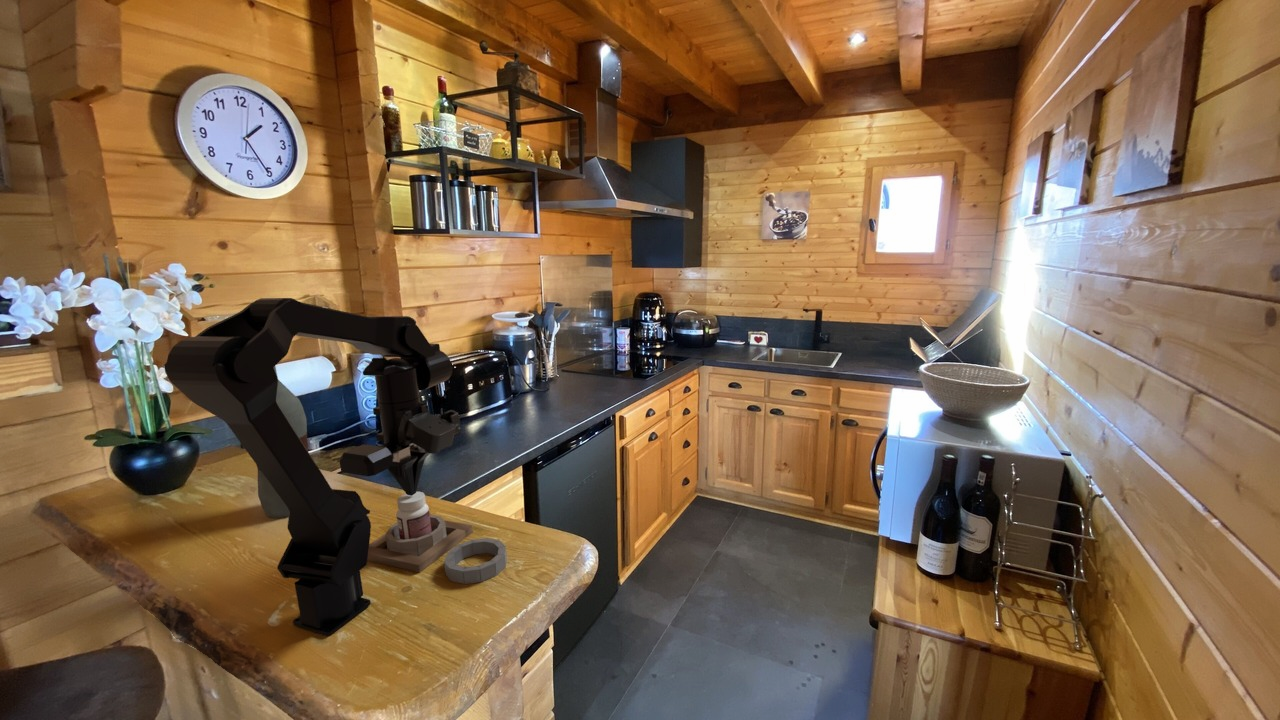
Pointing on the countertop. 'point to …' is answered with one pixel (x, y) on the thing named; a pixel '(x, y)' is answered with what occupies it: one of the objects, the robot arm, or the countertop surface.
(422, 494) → the pill bottle
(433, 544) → the socket board
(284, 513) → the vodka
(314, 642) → the countertop surface
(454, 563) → the holder
